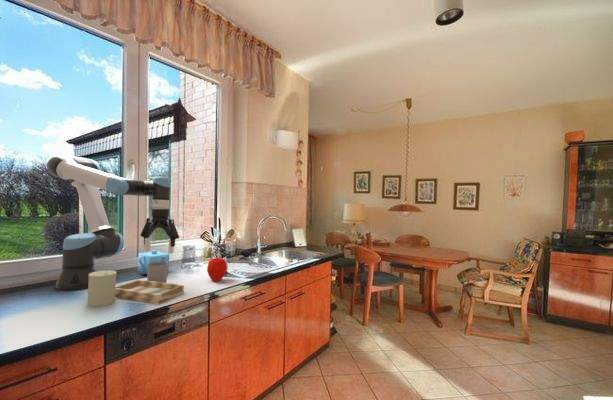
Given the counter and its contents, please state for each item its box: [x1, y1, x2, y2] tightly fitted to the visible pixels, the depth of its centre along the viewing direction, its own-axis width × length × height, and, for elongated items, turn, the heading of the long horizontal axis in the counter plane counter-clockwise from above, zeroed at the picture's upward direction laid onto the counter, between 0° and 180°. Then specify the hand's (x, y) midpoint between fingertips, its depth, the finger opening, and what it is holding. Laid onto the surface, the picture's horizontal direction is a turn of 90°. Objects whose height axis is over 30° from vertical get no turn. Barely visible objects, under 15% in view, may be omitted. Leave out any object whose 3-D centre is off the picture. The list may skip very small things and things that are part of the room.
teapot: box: [137, 249, 170, 275], centre depth 157 cm, size 18×16×13 cm
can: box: [86, 269, 117, 308], centre depth 113 cm, size 9×9×12 cm
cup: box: [146, 262, 168, 283], centre depth 140 cm, size 8×8×10 cm
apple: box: [206, 257, 228, 282], centre depth 151 cm, size 10×10×12 cm
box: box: [115, 278, 185, 305], centre depth 124 cm, size 24×15×4 cm, turn 76°
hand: (158, 252), depth 140 cm, fingers open, 13 cm apart
